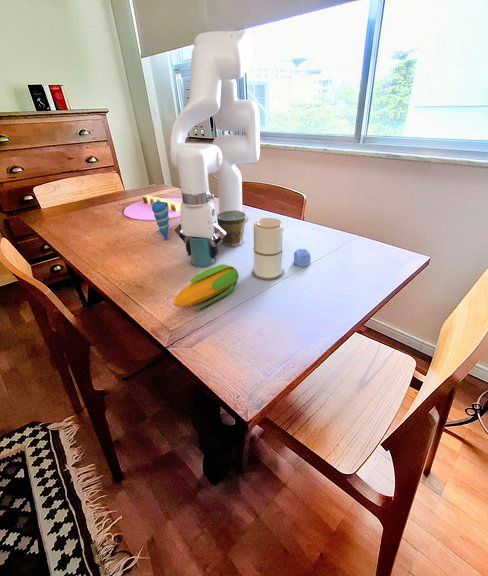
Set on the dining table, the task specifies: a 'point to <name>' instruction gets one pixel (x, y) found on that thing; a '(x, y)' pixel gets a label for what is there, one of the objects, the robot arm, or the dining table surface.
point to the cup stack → (268, 248)
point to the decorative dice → (302, 257)
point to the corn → (208, 286)
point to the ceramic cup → (232, 226)
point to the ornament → (161, 217)
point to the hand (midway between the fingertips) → (202, 254)
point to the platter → (145, 208)
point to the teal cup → (200, 251)
